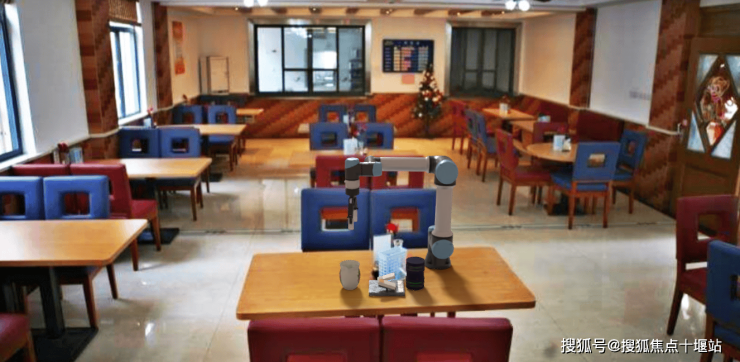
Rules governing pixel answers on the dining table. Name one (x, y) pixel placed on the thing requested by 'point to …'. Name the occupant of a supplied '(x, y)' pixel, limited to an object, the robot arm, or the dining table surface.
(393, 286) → the paddle near
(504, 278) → the dining table surface
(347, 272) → the pitcher
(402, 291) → the breaker panel
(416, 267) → the storage jar
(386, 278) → the paddle far
